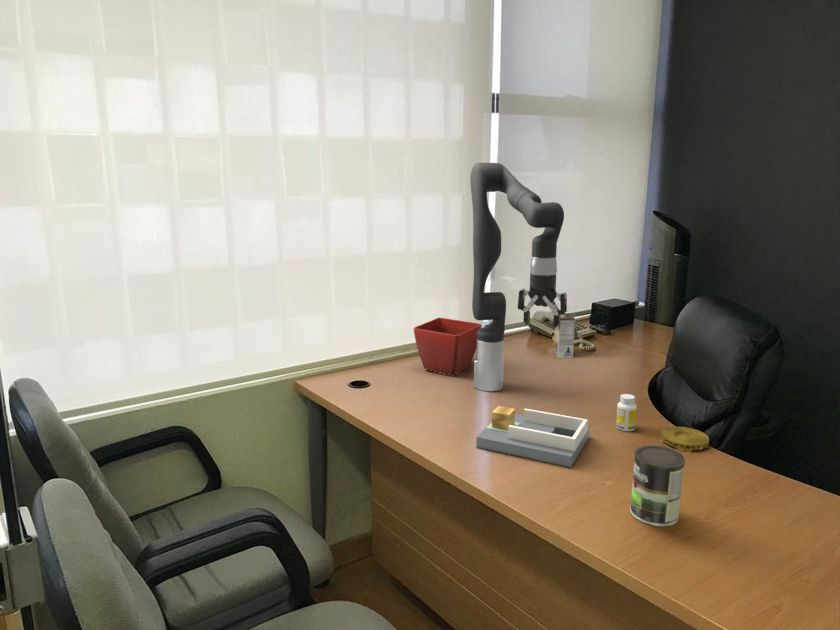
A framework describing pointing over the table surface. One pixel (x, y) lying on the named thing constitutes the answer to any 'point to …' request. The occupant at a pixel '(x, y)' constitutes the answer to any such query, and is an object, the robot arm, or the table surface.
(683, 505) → the table surface
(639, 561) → the table surface
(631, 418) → the supplement bottle
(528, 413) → the walled pit deck
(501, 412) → the mustard block
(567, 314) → the coffee box
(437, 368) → the plant pot
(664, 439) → the gold flat disc
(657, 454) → the coffee can
